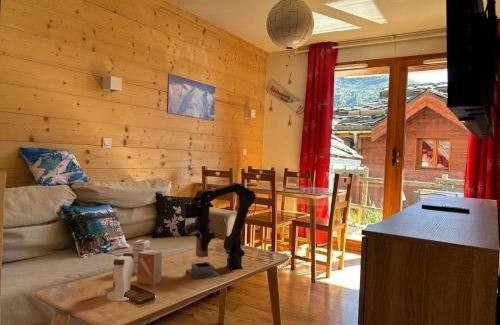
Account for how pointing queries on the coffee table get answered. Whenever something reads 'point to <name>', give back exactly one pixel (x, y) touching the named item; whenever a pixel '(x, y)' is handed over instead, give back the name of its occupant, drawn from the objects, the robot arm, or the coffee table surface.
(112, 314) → the coffee table surface
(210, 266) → the socket
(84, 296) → the coffee table surface
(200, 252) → the peg
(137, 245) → the syrup box
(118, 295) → the white piece
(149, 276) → the small box
